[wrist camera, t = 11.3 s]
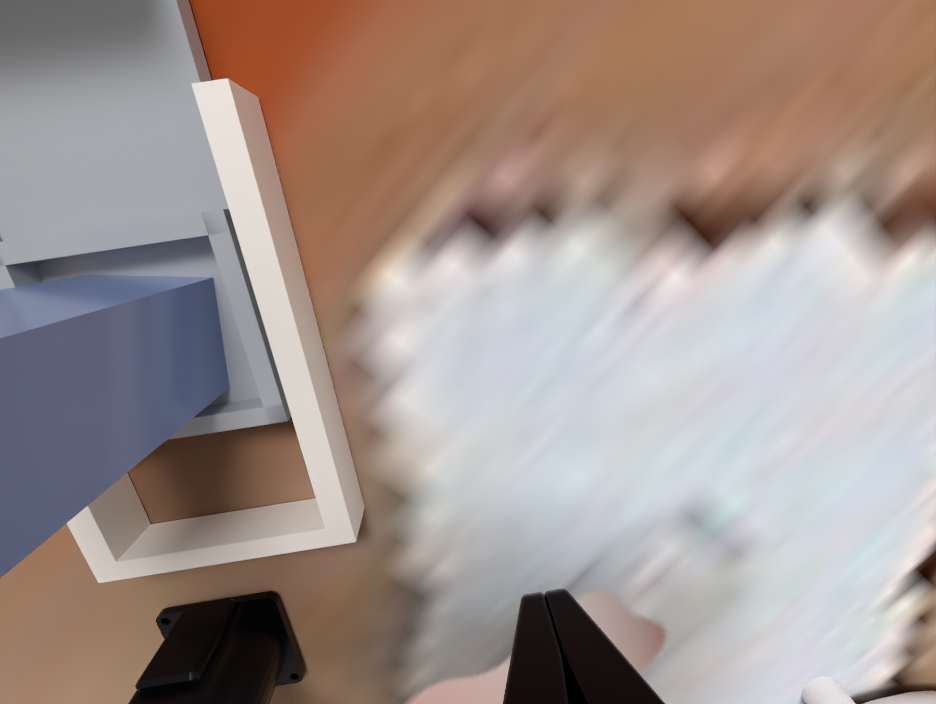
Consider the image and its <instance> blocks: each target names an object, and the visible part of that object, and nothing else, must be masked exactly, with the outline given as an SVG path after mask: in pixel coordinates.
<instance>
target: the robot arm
mask: <svg viewBox="0 0 936 704" xmlns="http://www.w3.org/2000/svg"><path fill="white" fill-rule="evenodd" d="M156 623H157V625H158V627H159V629H160V631H161V633H162V635H163V637H164V639H165V640H164V641H163V643H162V644H161V646H160V648H159V649H158V651H157V652H156V654H155V655H154V657H153V658H152V660H151V662H150V663H149V665H148V666H147V668H146V669H145V671H144V672H143V674H142V675H141V677H140V679H139V680H138V682H137V683H136V689H137V691H136V693H135V694H134V696H133V697H132V699H131V700H130V702H129V704H269V703H270V700H271V698H272V695H273V692H274V689H275V686H279V685H285V684H291V683H297V682H300V681H301V680H302V679H303V676H304V673H305V667H304V664H303V661H302V659H301V656H300V653H299V650H298V648H297V645H296V642H295V639H294V637H293V634H292V631H291V628H290V626H289V623H288V620H287V618H286V615H285V612H284V609H283V607H282V604H281V601H280V598H279V596H278V595H277V594H276V593H273V592H264V593H258V594H251V595H245V596H239V597H233V598H226V599H220V600H214V601H208V602H202V603H195V604H189V605H183V606H177V607H170V608H166V609H163V610H162V611H161V612H160V614H159V615H158V617H157V619H156ZM503 704H665V703H664V702H663V701H662V699H661V698H660V697H659V696H658V695H657V694H656V693H655V691H654V690H653V689H652V688H651V687H650V686H649V684H648V683H647V682H646V681H645V680H644V679H643V678H642V676H641V675H640V674H639V673H638V672H637V671H636V669H635V668H634V667H633V666H632V665H631V664H630V663H629V661H628V660H627V659H626V658H625V657H624V656H623V654H622V653H621V652H620V651H619V650H618V649H617V647H616V646H615V645H614V644H613V643H612V642H611V641H610V639H609V638H608V637H607V636H606V635H605V634H604V632H603V631H602V630H601V629H600V628H599V627H598V626H597V624H596V623H595V622H594V621H593V620H592V619H591V617H590V616H589V615H588V614H587V613H586V612H585V611H584V610H583V608H582V607H581V606H580V605H579V604H578V602H577V601H576V600H575V599H574V598H573V597H572V595H571V594H570V593H569V592H568V591H567V590H565V589H557V590H550V591H547V592H545V594H543V593H541V592H538V593H532V594H526V595H523V597H522V599H521V604H520V609H519V615H518V621H517V626H516V632H515V638H514V644H513V649H512V655H511V661H510V667H509V672H508V678H507V683H506V689H505V695H504V701H503Z"/></svg>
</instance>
